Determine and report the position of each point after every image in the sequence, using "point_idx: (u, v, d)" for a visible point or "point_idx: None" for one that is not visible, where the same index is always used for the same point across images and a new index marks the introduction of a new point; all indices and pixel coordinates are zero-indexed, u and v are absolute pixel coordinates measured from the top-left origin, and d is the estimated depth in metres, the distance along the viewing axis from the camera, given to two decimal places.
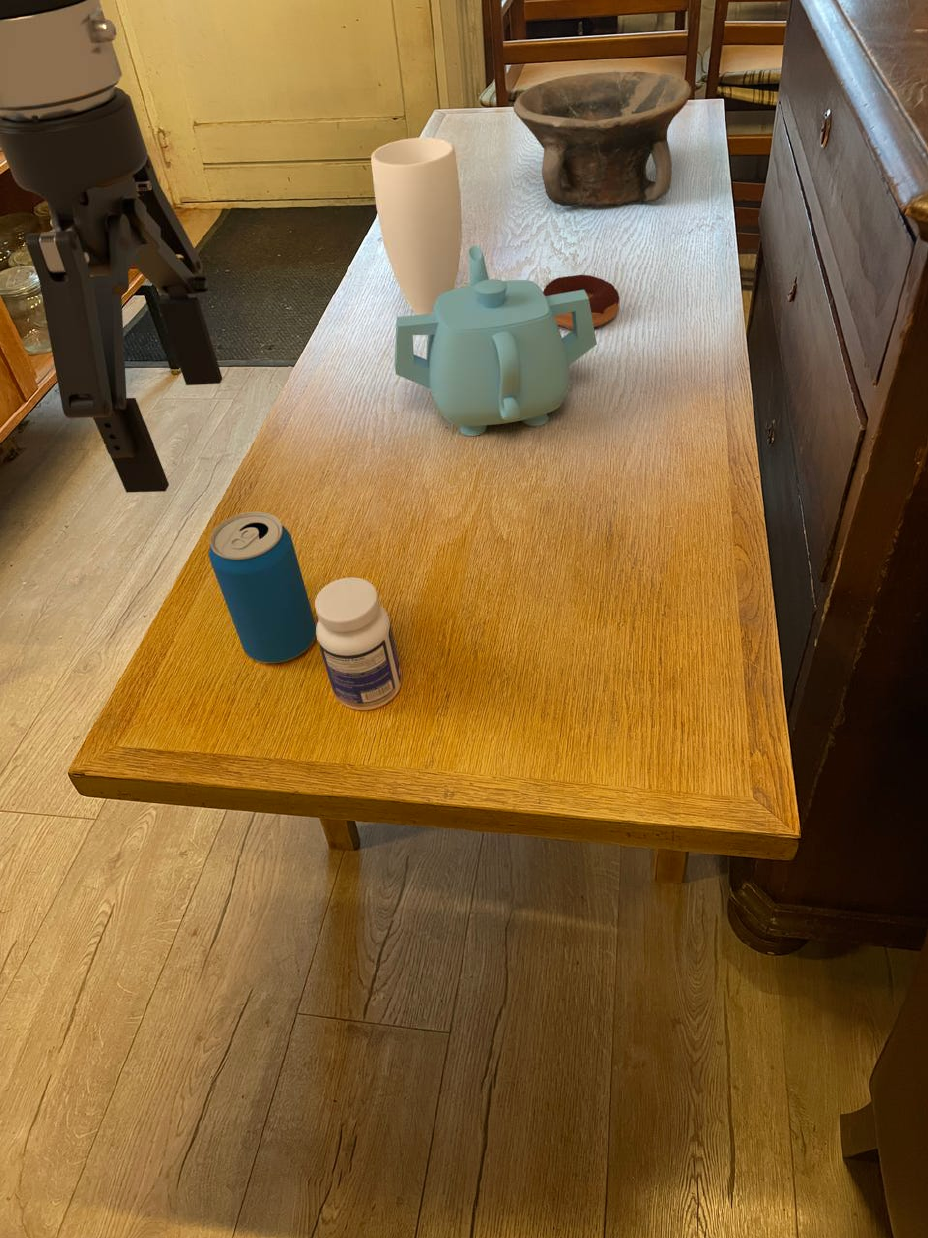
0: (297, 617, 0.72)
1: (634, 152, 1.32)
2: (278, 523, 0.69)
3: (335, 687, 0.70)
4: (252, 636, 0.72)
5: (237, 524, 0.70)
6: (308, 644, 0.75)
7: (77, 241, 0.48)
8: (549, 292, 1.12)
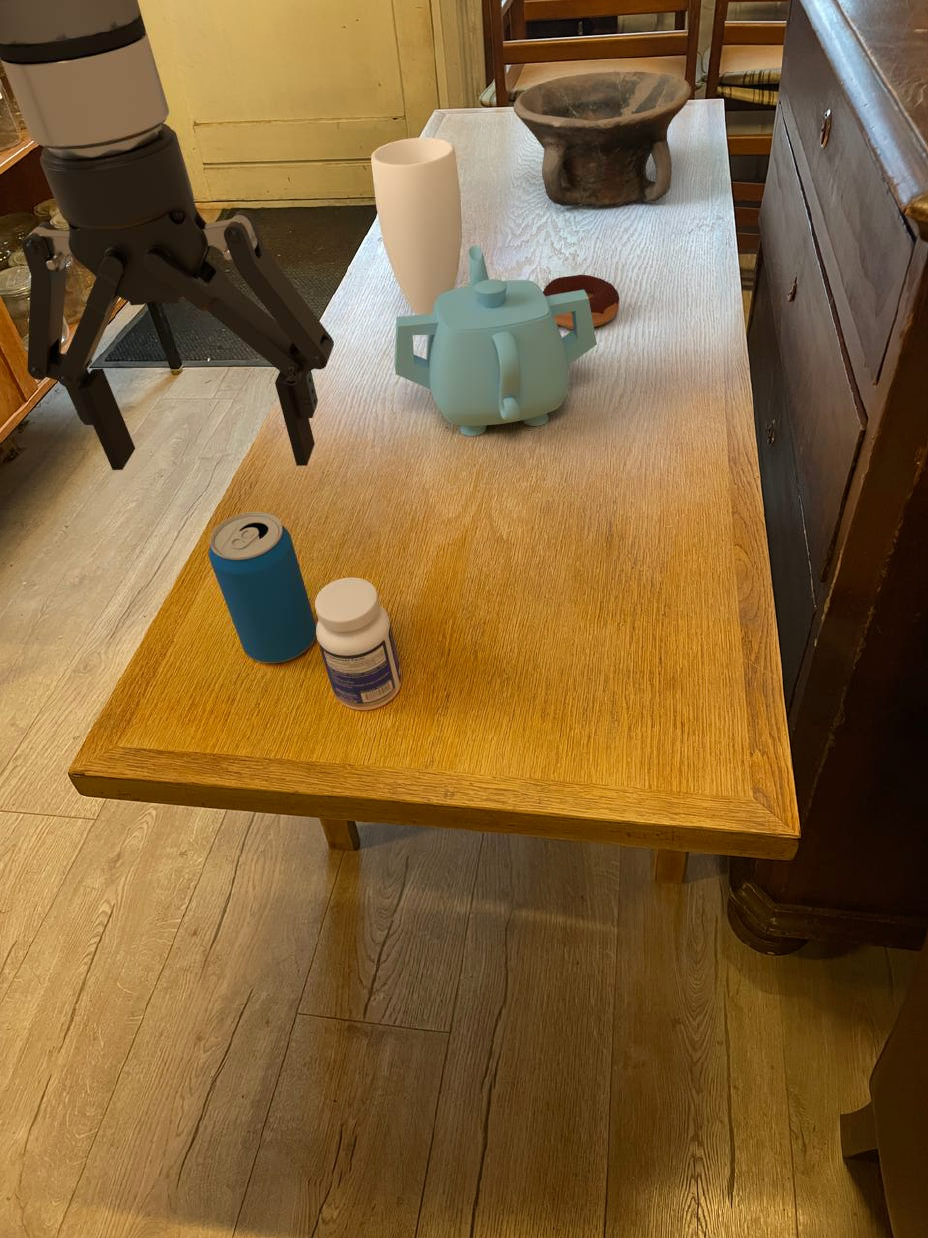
0: (297, 617, 0.72)
1: (634, 152, 1.32)
2: (278, 523, 0.69)
3: (335, 687, 0.70)
4: (252, 636, 0.72)
5: (237, 524, 0.70)
6: (308, 644, 0.75)
7: None
8: (549, 292, 1.12)
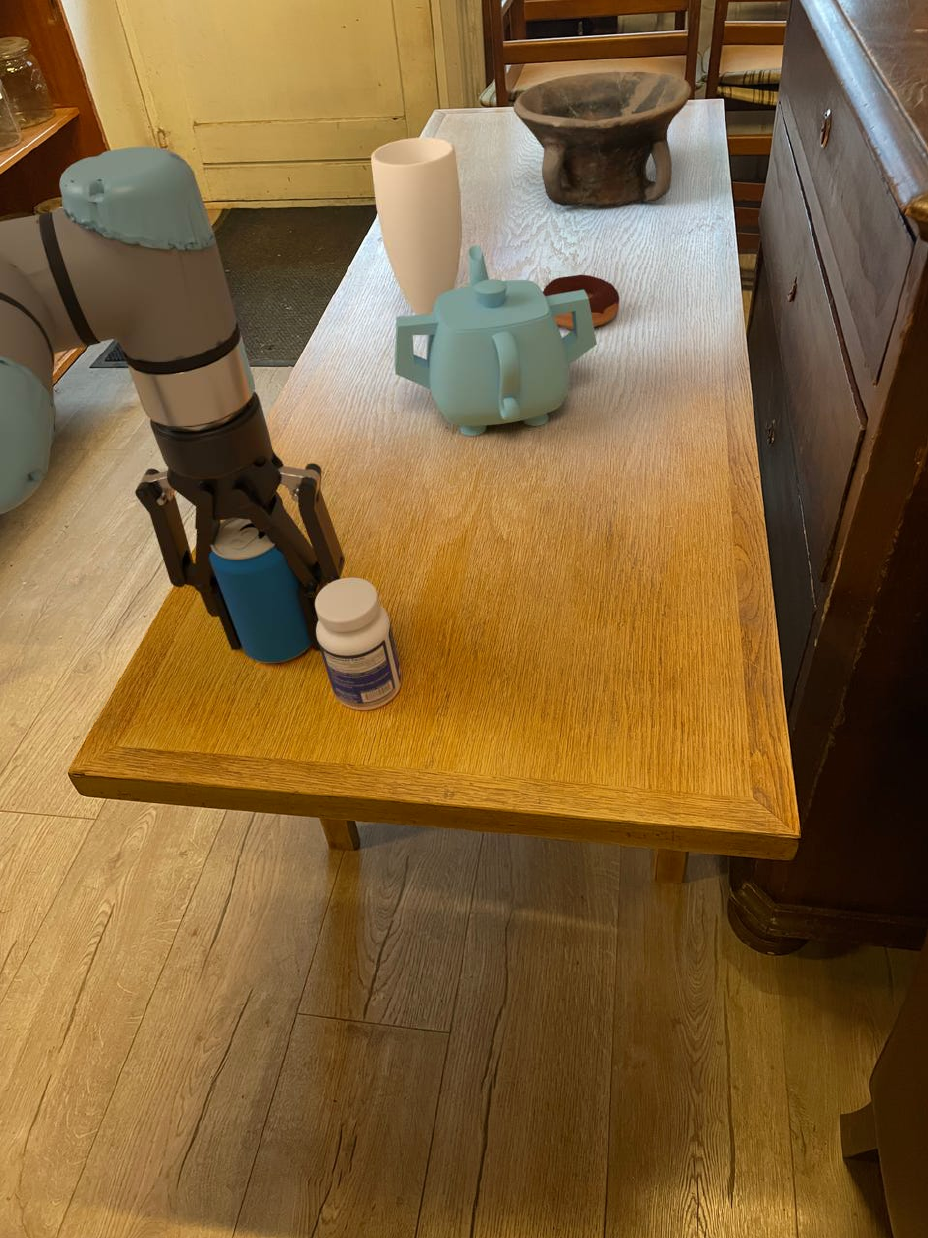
0: (297, 617, 0.72)
1: (634, 152, 1.32)
2: None
3: (335, 687, 0.70)
4: (252, 636, 0.72)
5: (237, 524, 0.70)
6: (308, 644, 0.75)
7: None
8: (549, 292, 1.12)
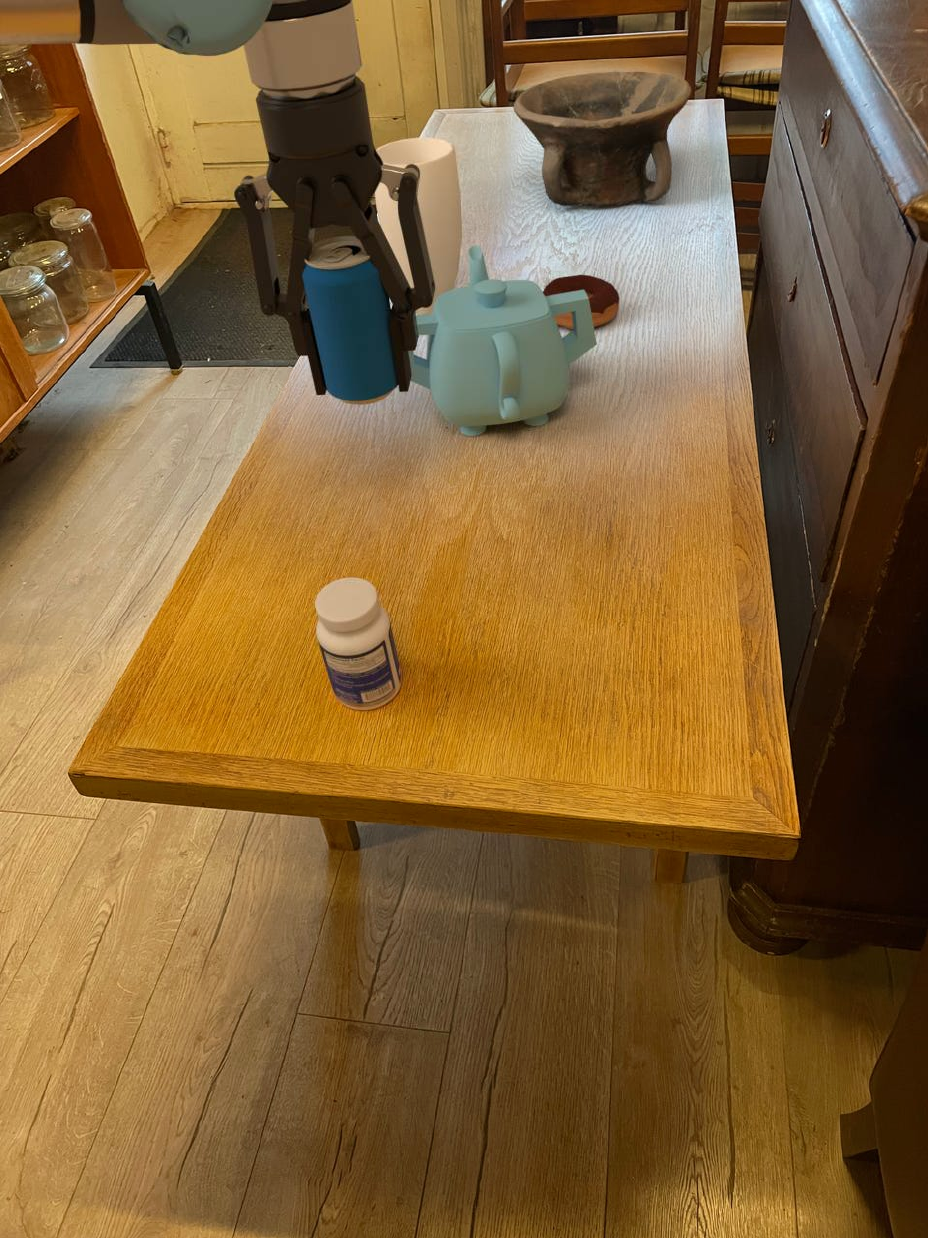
0: (386, 349, 0.72)
1: (634, 152, 1.32)
2: None
3: (335, 687, 0.70)
4: (341, 367, 0.72)
5: (329, 246, 0.70)
6: (394, 385, 0.75)
7: None
8: (549, 292, 1.12)
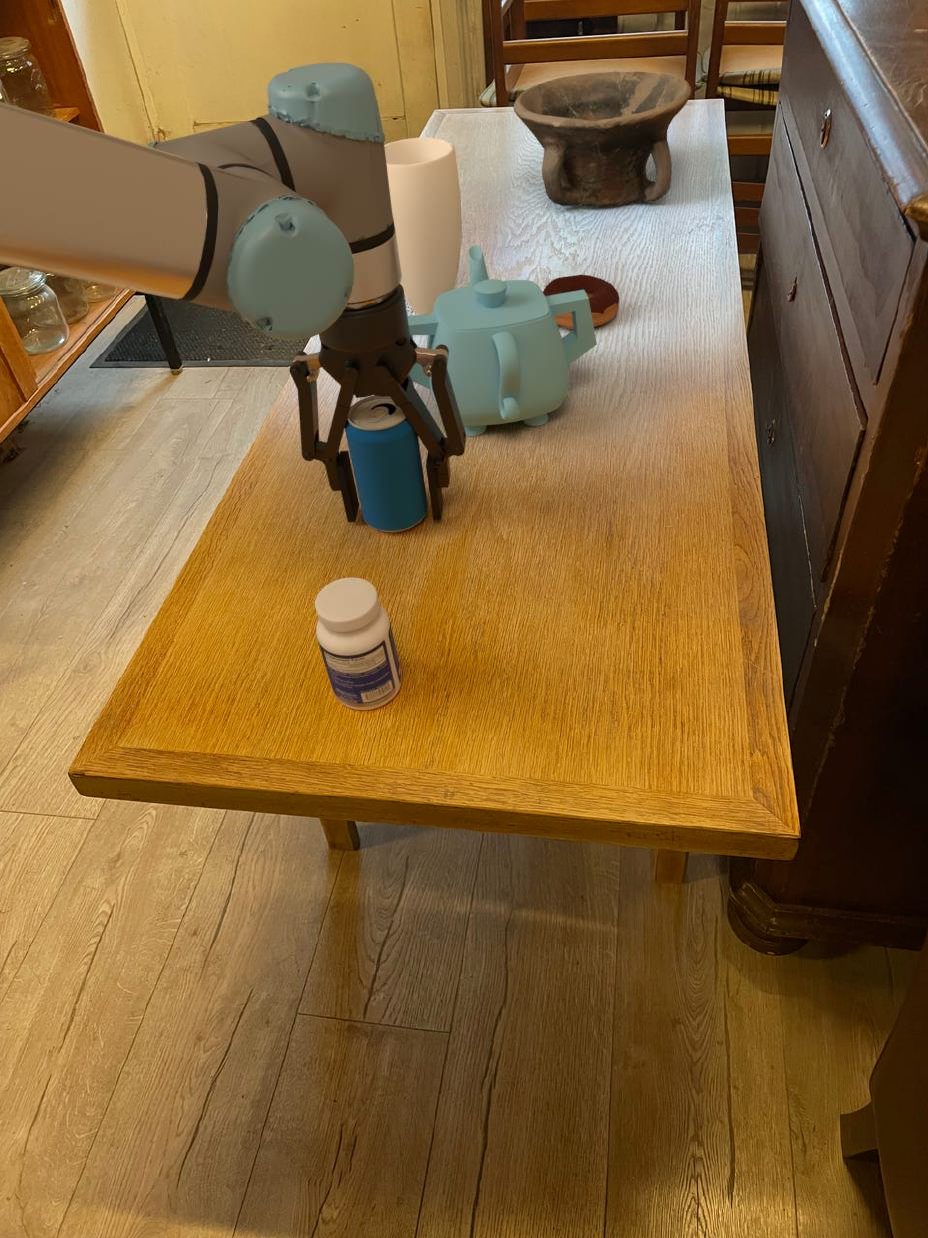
0: (417, 488, 0.83)
1: (634, 152, 1.32)
2: None
3: (335, 687, 0.70)
4: (378, 505, 0.83)
5: (368, 404, 0.81)
6: (422, 516, 0.86)
7: None
8: (549, 292, 1.12)
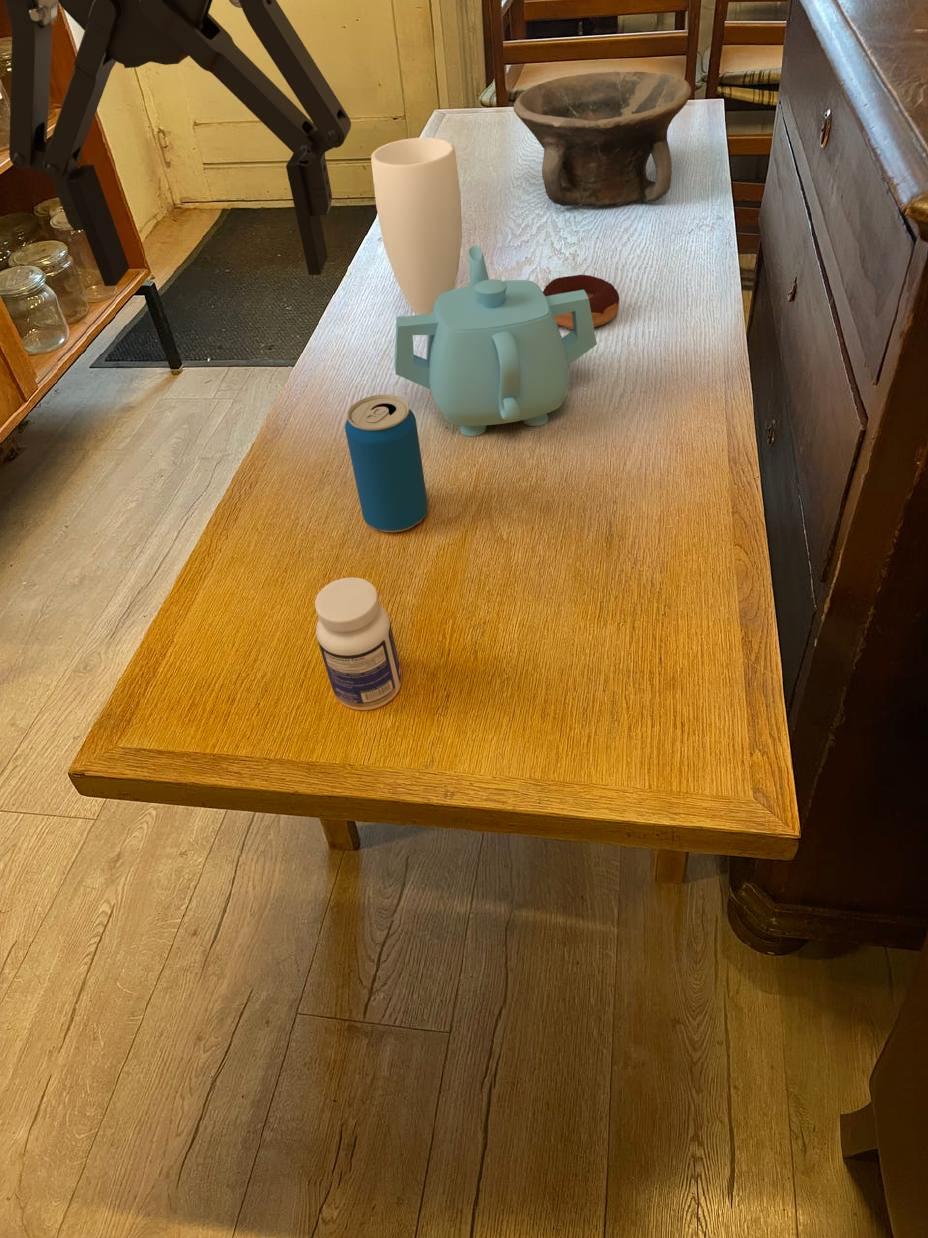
0: (417, 488, 0.83)
1: (634, 152, 1.32)
2: (404, 403, 0.80)
3: (335, 687, 0.70)
4: (378, 504, 0.83)
5: (368, 404, 0.81)
6: (422, 516, 0.86)
7: None
8: (549, 292, 1.12)
